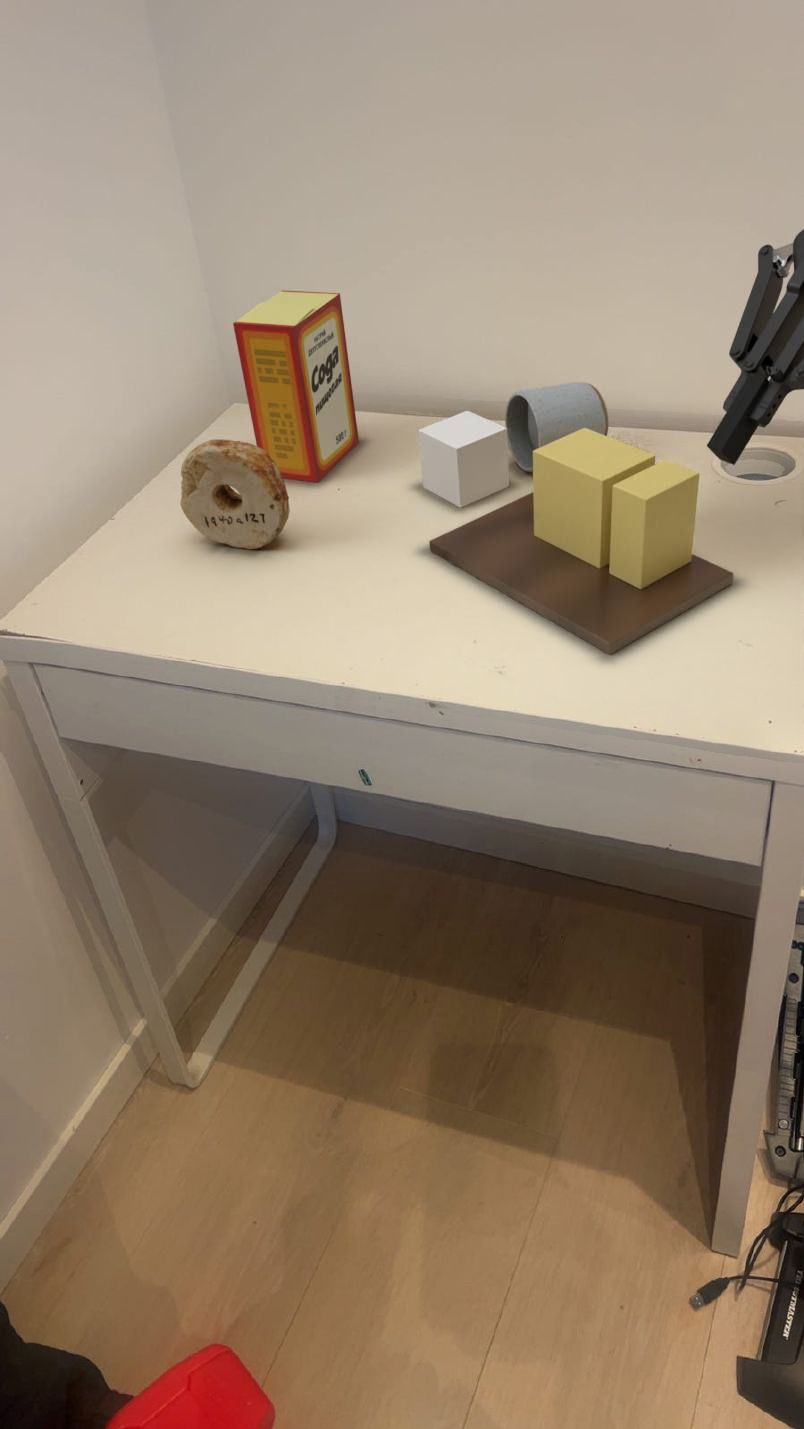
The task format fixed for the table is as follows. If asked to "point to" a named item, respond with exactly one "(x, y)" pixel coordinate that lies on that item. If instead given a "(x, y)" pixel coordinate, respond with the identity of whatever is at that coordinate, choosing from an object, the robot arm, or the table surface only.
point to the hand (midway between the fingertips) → (720, 455)
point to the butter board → (572, 579)
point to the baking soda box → (298, 381)
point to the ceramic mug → (551, 417)
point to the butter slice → (653, 523)
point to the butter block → (581, 491)
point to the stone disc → (234, 493)
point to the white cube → (464, 458)
